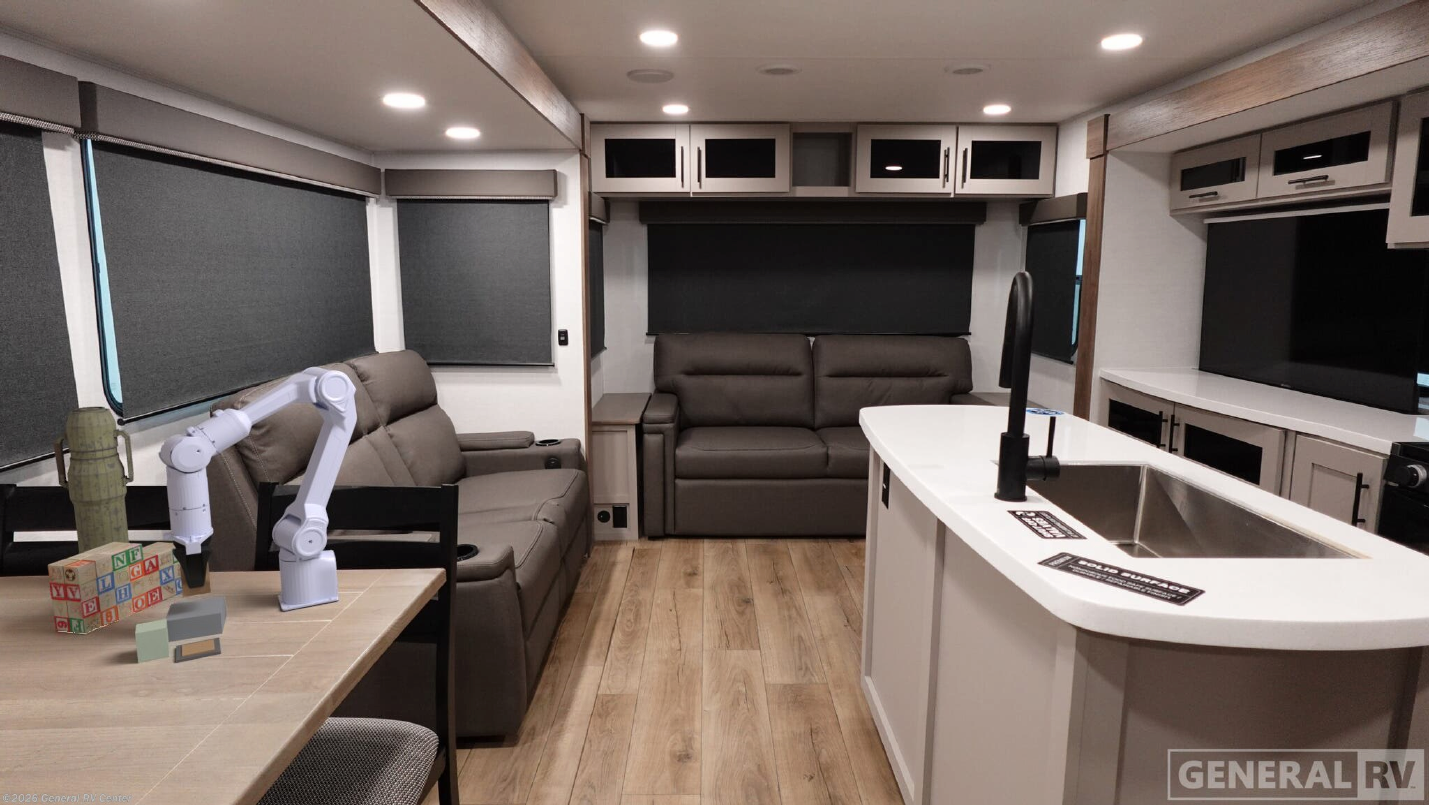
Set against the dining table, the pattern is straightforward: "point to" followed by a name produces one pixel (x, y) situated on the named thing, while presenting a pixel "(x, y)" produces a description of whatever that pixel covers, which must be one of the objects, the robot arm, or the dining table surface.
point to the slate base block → (196, 619)
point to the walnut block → (195, 591)
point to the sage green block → (152, 640)
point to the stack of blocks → (111, 584)
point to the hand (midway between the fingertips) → (196, 582)
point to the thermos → (95, 476)
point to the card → (198, 649)
